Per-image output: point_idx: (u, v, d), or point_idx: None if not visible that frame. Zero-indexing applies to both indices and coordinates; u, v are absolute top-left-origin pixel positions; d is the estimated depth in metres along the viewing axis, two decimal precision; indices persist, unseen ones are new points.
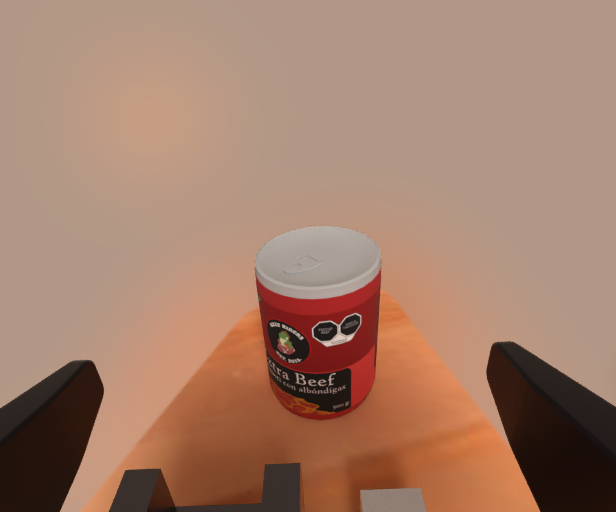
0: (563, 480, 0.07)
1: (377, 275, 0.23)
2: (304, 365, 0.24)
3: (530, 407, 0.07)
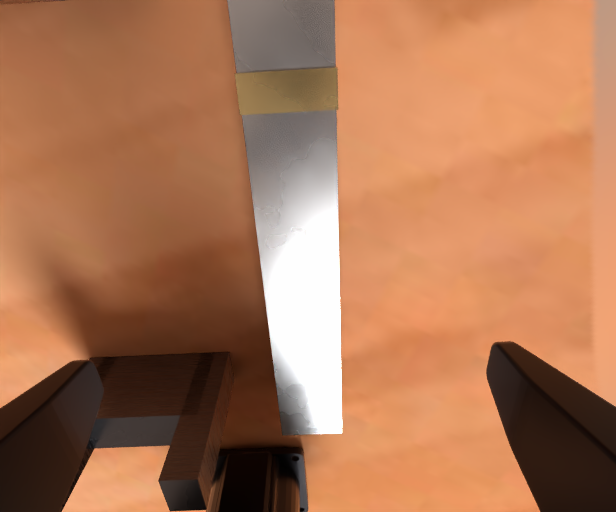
0: (563, 480, 0.07)
1: None
2: None
3: (530, 407, 0.07)
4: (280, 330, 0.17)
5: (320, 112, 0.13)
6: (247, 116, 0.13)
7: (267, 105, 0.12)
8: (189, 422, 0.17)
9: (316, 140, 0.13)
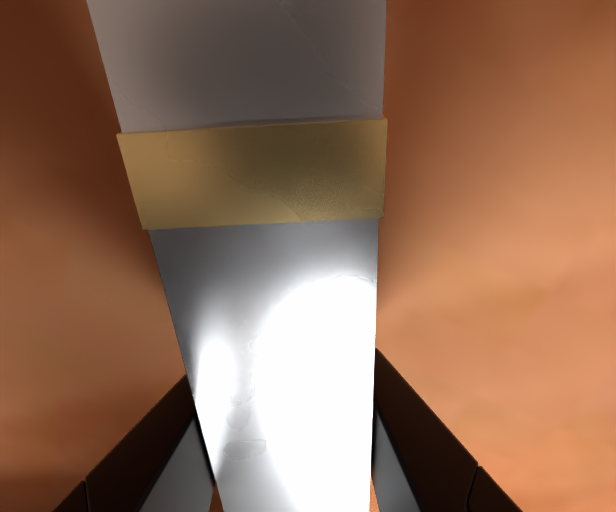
0: (386, 487, 0.07)
1: None
2: None
3: None
4: None
5: (340, 223, 0.05)
6: (161, 231, 0.05)
7: (209, 208, 0.05)
8: None
9: (330, 279, 0.06)
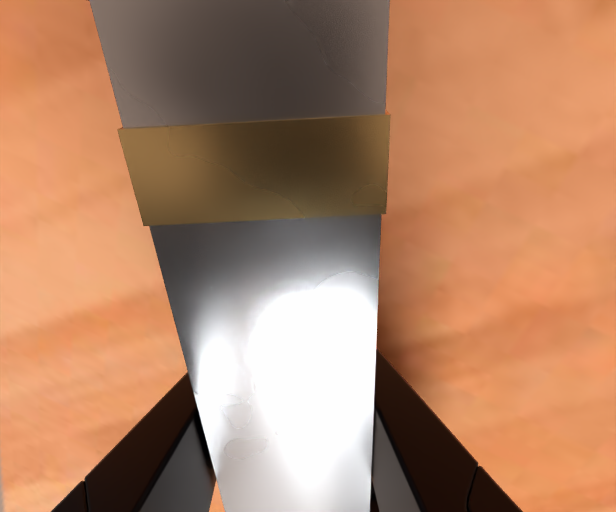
0: (386, 487, 0.07)
1: None
2: None
3: None
4: None
5: (342, 219, 0.05)
6: (163, 227, 0.05)
7: (210, 203, 0.05)
8: None
9: (332, 276, 0.06)
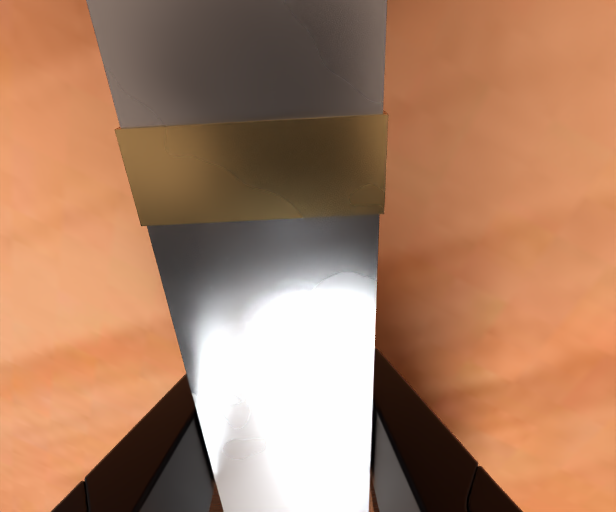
0: (386, 487, 0.07)
1: None
2: None
3: None
4: None
5: (339, 219, 0.05)
6: (160, 228, 0.05)
7: (208, 203, 0.05)
8: None
9: (330, 276, 0.06)
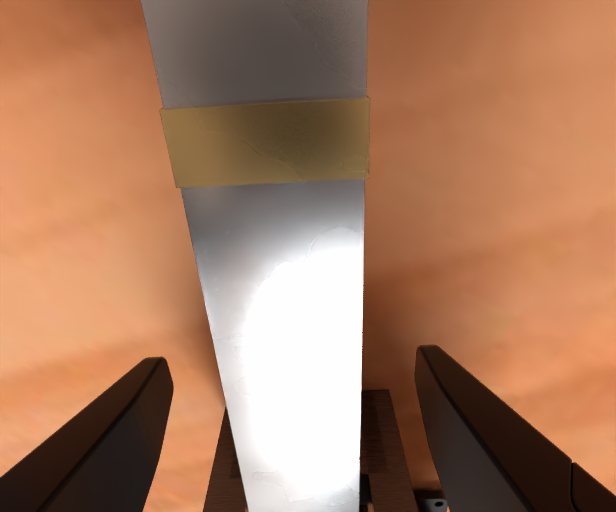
0: (464, 484, 0.07)
1: None
2: None
3: (440, 411, 0.07)
4: (263, 501, 0.11)
5: (334, 183, 0.06)
6: (191, 189, 0.06)
7: (229, 169, 0.06)
8: (384, 483, 0.15)
9: (325, 231, 0.07)
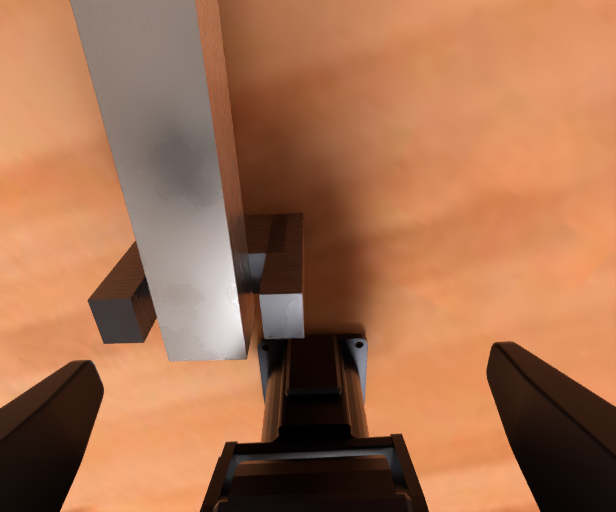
0: (563, 480, 0.07)
1: None
2: None
3: (530, 407, 0.07)
4: (139, 198, 0.12)
5: None
6: None
7: None
8: (278, 257, 0.16)
9: None
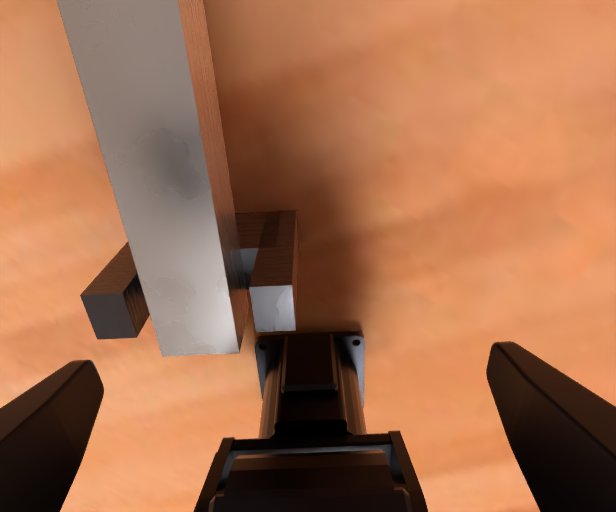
0: (563, 480, 0.07)
1: None
2: None
3: (530, 407, 0.07)
4: (128, 192, 0.12)
5: None
6: None
7: None
8: (269, 251, 0.16)
9: None
